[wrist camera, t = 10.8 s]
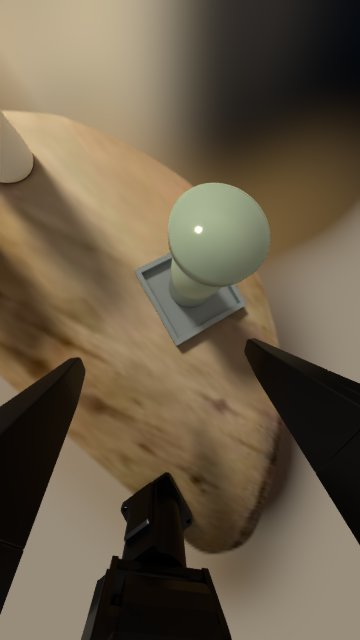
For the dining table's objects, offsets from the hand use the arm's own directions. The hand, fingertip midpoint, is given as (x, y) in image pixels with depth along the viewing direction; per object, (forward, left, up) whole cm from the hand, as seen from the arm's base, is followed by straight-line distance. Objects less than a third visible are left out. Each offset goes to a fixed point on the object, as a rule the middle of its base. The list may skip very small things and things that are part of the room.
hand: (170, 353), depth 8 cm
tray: (+5, -7, -13) cm, 15 cm away
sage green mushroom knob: (+5, -7, -12) cm, 15 cm away
